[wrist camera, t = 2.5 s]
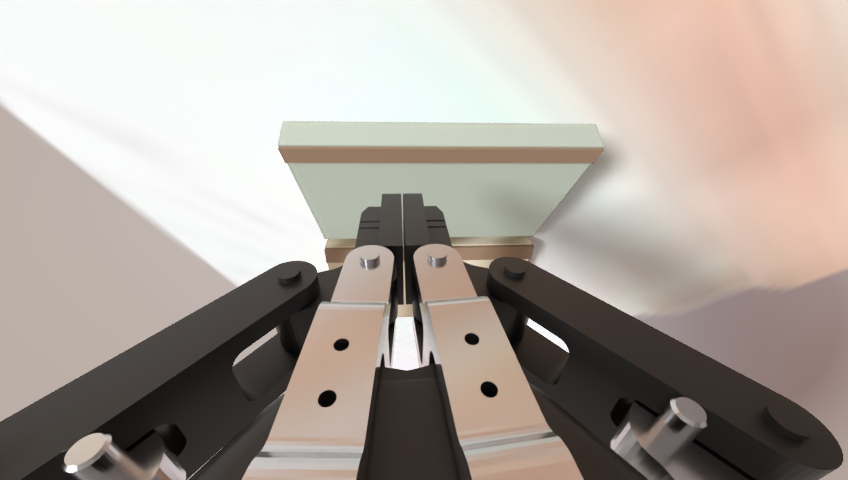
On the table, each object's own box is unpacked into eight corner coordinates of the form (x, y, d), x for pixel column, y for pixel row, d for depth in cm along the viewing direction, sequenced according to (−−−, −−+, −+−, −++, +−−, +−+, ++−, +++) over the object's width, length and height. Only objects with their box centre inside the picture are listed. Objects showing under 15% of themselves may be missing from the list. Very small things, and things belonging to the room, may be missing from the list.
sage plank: (595, 124, 17) (605, 148, 16) (529, 219, 25) (533, 237, 25) (282, 121, 15) (277, 147, 15) (326, 221, 24) (325, 240, 24)
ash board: (526, 233, 26) (533, 245, 25) (509, 301, 31) (515, 315, 29) (328, 235, 25) (324, 249, 24) (340, 306, 30) (337, 321, 28)
